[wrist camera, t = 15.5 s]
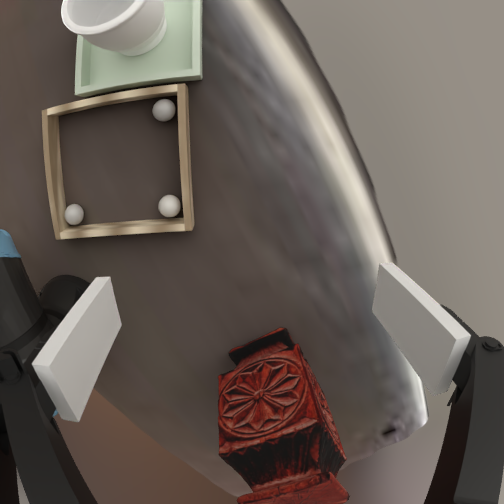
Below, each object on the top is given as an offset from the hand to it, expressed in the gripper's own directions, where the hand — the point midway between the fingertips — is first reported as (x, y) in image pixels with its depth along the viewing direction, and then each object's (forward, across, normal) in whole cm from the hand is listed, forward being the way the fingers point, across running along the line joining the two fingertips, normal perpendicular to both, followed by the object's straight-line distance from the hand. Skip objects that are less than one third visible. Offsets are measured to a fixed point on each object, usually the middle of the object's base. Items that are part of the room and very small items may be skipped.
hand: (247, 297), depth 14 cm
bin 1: (+32, -13, +25) cm, 42 cm away
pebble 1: (+32, -9, +12) cm, 35 cm away
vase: (+32, +5, -31) cm, 45 cm away
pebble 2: (+32, -9, -2) cm, 33 cm away
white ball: (+32, -25, -2) cm, 40 cm away
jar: (+31, -13, +25) cm, 42 cm away
